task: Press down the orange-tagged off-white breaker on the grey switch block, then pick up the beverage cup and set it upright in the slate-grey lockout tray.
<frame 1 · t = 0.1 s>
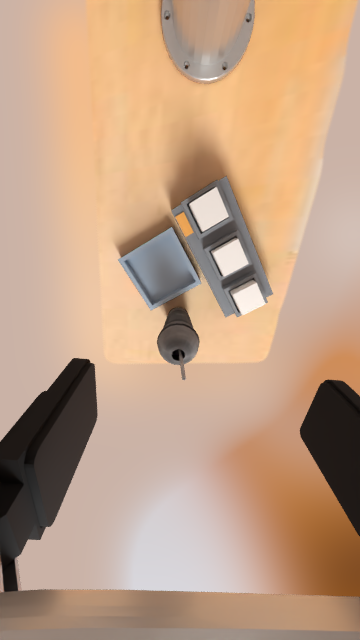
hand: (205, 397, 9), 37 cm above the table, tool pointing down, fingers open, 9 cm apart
grey switch block: (221, 252, 42), on the table
lockout tray: (161, 269, 44), on the table
beverage cup: (178, 316, 48), on the table
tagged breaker: (208, 210, 33), point 7 cm above the table, slide at 0.0 cm
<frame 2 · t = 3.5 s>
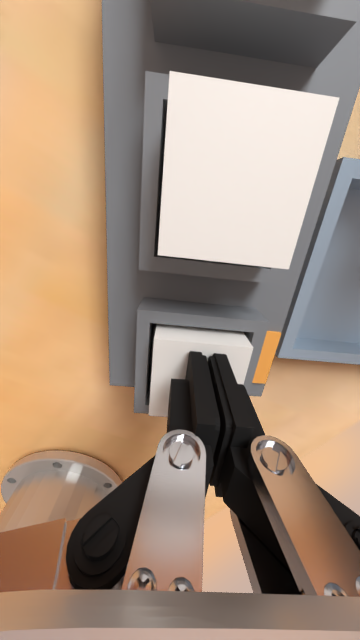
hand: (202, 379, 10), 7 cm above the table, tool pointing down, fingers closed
grey switch block: (204, 209, 14), on the table
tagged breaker: (195, 369, 11), point 6 cm above the table, slide at 1.0 cm, touching gripper
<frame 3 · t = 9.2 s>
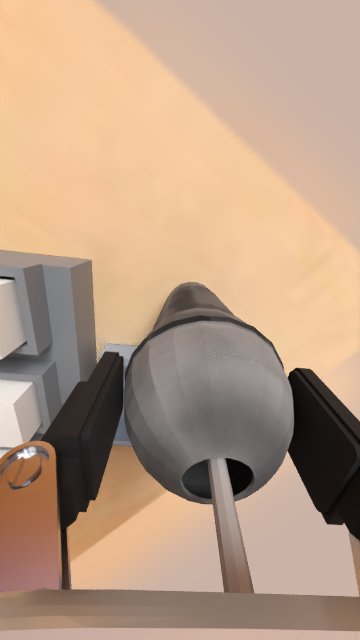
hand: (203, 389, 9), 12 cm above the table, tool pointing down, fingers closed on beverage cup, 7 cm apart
grey switch block: (48, 361, 23), on the table
lockout tray: (160, 392, 25), on the table
beverage cup: (190, 304, 21), on the table, touching gripper
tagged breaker: (29, 461, 21), point 5 cm above the table, slide at 1.5 cm
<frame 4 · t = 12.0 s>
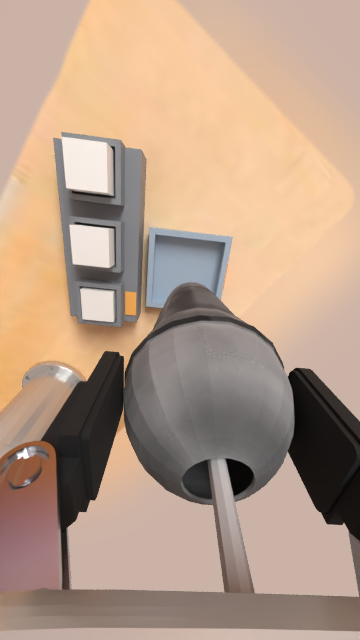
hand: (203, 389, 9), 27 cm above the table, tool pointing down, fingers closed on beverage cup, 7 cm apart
grey switch block: (109, 242, 33), on the table
lockout tray: (186, 270, 35), on the table
beverage cup: (190, 304, 21), point 15 cm above the table, touching gripper
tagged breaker: (100, 303, 31), point 5 cm above the table, slide at 1.5 cm
when the fingers open (14 cm above the table, at t = 14.9 s): beverage cup drops 2 cm, resting on lockout tray.
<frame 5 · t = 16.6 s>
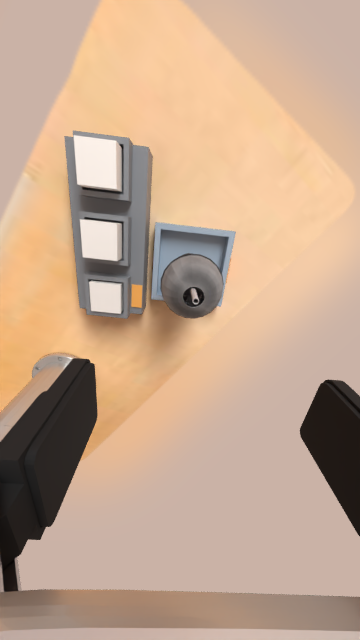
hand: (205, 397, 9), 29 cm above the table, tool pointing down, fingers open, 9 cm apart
grey switch block: (117, 237, 34), on the table
lockout tray: (190, 264, 36), on the table
beverage cup: (188, 267, 35), resting on lockout tray
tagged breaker: (107, 295, 32), point 5 cm above the table, slide at 1.5 cm
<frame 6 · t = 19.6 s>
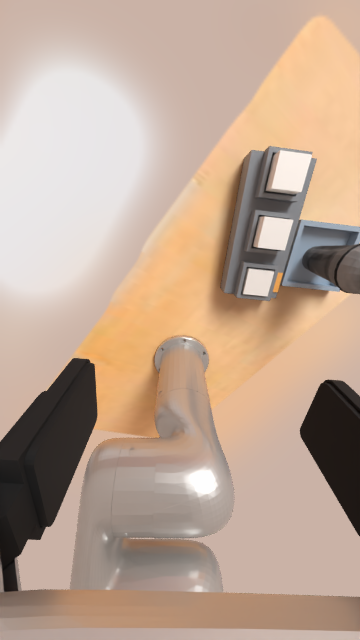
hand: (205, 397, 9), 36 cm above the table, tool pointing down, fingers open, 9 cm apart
grey switch block: (257, 232, 40), on the table
lockout tray: (313, 256, 42), on the table
beverage cup: (313, 258, 42), resting on lockout tray
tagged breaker: (256, 281, 39), point 5 cm above the table, slide at 1.5 cm
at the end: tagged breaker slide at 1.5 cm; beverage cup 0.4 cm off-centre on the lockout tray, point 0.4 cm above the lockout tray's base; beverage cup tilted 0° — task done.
